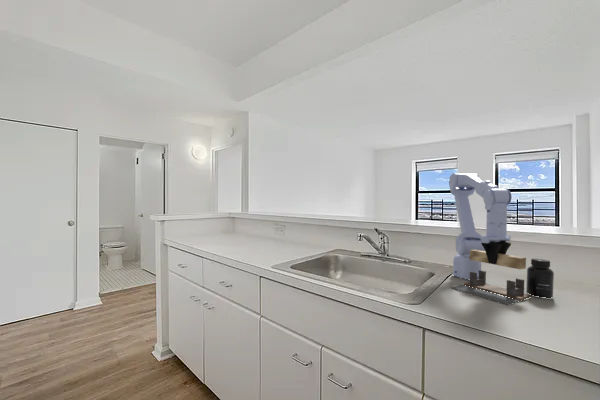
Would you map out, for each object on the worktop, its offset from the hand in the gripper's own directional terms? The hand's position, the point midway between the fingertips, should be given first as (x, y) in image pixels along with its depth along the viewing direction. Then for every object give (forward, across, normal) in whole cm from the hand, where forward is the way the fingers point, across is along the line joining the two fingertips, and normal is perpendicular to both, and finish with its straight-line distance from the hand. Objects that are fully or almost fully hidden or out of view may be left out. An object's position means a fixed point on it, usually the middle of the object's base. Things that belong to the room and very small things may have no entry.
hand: (495, 263), depth 98 cm
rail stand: (+10, 0, 0) cm, 10 cm away
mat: (+10, -7, 0) cm, 12 cm away
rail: (0, 0, 0) cm, 0 cm away
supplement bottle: (+10, +9, -9) cm, 16 cm away
